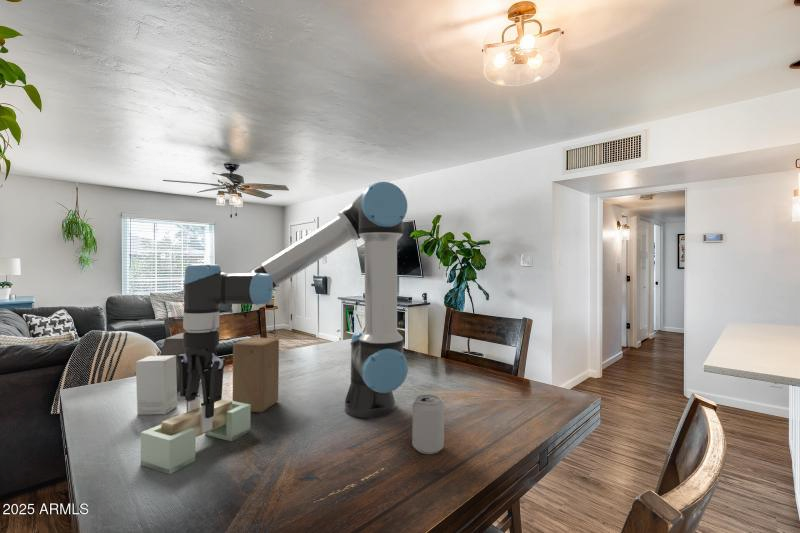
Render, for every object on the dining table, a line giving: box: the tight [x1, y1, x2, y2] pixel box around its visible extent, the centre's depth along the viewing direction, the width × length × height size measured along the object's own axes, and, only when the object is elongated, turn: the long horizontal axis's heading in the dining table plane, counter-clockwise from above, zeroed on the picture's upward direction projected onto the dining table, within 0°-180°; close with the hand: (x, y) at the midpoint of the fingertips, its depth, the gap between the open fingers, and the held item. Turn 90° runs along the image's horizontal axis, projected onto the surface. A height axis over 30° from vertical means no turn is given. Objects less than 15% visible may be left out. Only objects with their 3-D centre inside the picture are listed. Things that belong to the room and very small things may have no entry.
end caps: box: [140, 399, 252, 475], centre depth 90 cm, size 22×9×7 cm, turn 157°
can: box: [411, 393, 445, 455], centre depth 91 cm, size 8×8×12 cm
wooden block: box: [232, 337, 280, 413], centre depth 116 cm, size 10×10×20 cm
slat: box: [160, 398, 233, 438], centre depth 90 cm, size 16×4×5 cm, turn 157°
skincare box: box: [135, 355, 178, 416], centre depth 111 cm, size 8×7×16 cm
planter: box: [159, 332, 201, 392], centre depth 134 cm, size 17×8×21 cm
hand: (199, 428), depth 90 cm, fingers closed on slat, 3 cm apart
